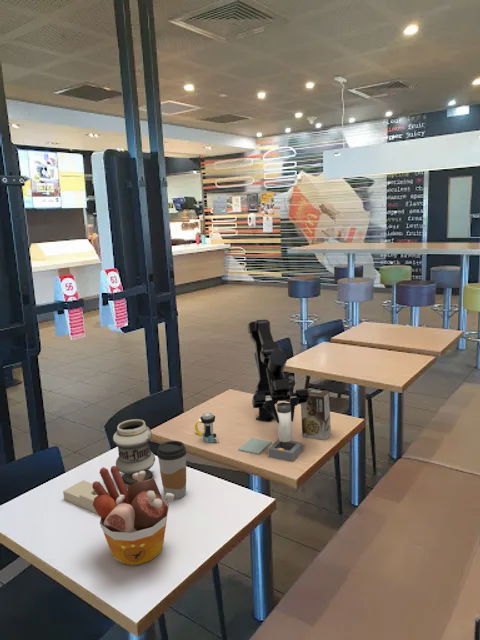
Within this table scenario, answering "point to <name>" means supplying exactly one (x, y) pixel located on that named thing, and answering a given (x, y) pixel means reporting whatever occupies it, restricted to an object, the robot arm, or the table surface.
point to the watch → (197, 428)
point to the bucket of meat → (131, 516)
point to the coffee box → (316, 415)
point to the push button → (208, 427)
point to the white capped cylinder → (284, 422)
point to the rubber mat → (255, 446)
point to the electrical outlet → (82, 495)
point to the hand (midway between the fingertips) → (285, 422)
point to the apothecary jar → (133, 450)
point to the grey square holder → (285, 450)
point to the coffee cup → (173, 468)
